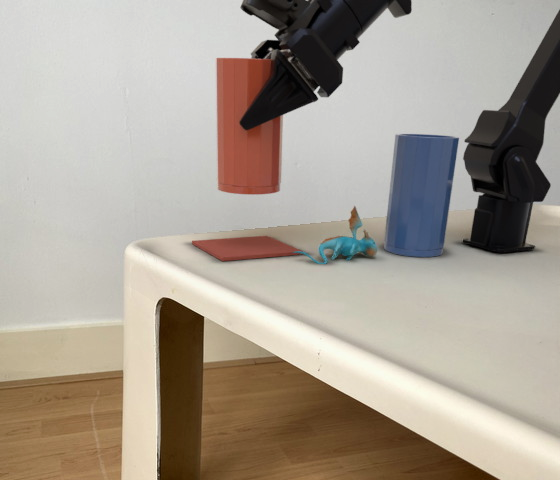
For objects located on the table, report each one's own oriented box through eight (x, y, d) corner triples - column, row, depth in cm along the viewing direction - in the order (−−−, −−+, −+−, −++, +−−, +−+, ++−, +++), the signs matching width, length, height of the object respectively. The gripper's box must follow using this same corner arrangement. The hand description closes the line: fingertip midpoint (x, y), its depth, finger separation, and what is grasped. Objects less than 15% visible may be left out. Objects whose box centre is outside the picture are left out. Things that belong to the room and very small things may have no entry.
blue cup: (417, 242, 80) (430, 134, 75) (455, 254, 75) (472, 138, 70) (372, 246, 77) (383, 133, 72) (408, 259, 72) (423, 137, 67)
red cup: (285, 186, 73) (290, 61, 67) (272, 196, 67) (276, 59, 61) (227, 182, 74) (226, 59, 68) (209, 192, 68) (207, 57, 62)
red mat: (266, 238, 79) (267, 235, 79) (302, 254, 72) (302, 250, 72) (191, 244, 75) (191, 240, 74) (222, 261, 67) (222, 257, 67)
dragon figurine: (359, 265, 65) (391, 224, 69) (298, 230, 66) (334, 193, 70) (342, 305, 70) (373, 265, 74) (286, 273, 71) (320, 235, 76)
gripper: (271, -40, 70) (174, 66, 72) (317, -80, 53) (189, 59, 55) (334, 44, 75) (241, 141, 77) (394, 30, 58) (274, 154, 60)
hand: (236, 125), depth 67 cm, fingers closed on red cup, 7 cm apart
